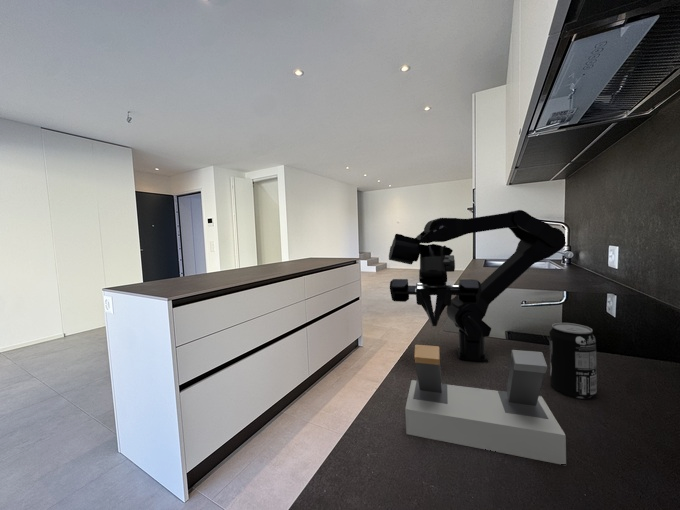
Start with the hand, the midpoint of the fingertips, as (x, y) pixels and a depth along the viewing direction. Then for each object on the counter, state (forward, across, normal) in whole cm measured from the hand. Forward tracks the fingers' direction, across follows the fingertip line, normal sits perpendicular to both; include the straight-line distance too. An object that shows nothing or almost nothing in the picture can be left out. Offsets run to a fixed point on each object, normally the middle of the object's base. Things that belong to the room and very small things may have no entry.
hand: (434, 325), depth 55 cm
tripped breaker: (+13, -1, -2) cm, 13 cm away
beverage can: (+7, +24, +10) cm, 27 cm away
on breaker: (+13, +12, -3) cm, 18 cm away
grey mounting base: (+17, +6, 0) cm, 18 cm away
